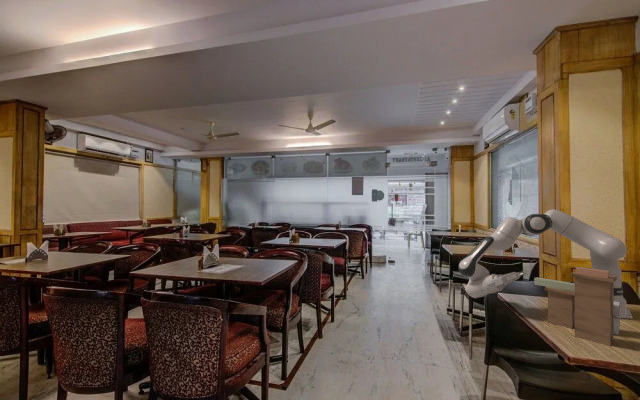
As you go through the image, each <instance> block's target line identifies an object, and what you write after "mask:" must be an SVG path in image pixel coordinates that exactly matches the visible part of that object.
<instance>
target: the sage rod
mask: <svg viewBox="0 0 640 400" xmlns="http://www.w3.org/2000/svg"><path fill="white" fill-rule="evenodd" d="M533 282H534V283H533V284H534V285H535V286H541V287H542V286H543V287H552V288H557V289H563V290H569V291H574V292H575V282H567V281H561V280H555V279H549V278H543V277H542V278H541V277H534V279H533Z"/></svg>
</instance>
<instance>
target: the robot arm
mask: <svg viewBox="0 0 640 400" xmlns="http://www.w3.org/2000/svg"><path fill="white" fill-rule="evenodd" d="M548 230H551V231H553V232H555V233H557V234H559V235H561V236H562V237H563V238H566V239H567V240H570V241H571V242H573V243H575V244H577V245H578V246H581V247H583V248H585V249H586V250H588V251H589V257H590V263H591V269H596V270H604V271H609V275H613V276H617V280H616V281H614V301H615V302H620V319H628V320H629V319H630V320H633V319H634V318H633V314H632V313H631V310H630V309H629V307H628V306H627V299H626V298H625V297H624V296H623V295H624V287H623V286H622V285H623V283H622V275H623V274H622V269H621V267H620V266H621V265H620V261H619V260H620V259H621V258H624V257H625V256H626V255H627V252H628V249H627V246H626V244H625V243H624V242H623V241H622V240H620V239H618V238H617V237H615V236H613V235H610V234H608V233H606V232H605V231H604V230H603V231H602V230H601V229H598V228H596V227H594V226H592V225H590V224H588V223H587V222H584V221H582V220H581V219H578V218H577V217H574V216H573V215H570V214H568V213H566V212H563V211H561V210H558V209H555V208H554V209H553V208H552V209H549V210H547V211H546V212H544V214H543V213H532V214H529V215H526V216H525V217H524V218H522V219H518V218H516V217H510V216H509V217H506V218H505V219H504V220H503V221H501V222H500V224H499V225H498V226H497V228H496V229H495V230H494V232H493V233H492V234H491V235H488V236H486V237H484V238H483V239H481V240H480V242H479V243H477V245H476V246H474V248H473V249H472V250H471V251H470V252H469V253H468V254H467V255H466V256H465V257H464V258H462V259H461V260H460V261H459V263H458V272H459V274H461V275H462V276H464V277H466V278H468V279H469V280H468V283H467V284H466V285H465V286H464V289H465V292H466V293H467V295H468V296H469V297H471V298H473V299H479V298H482V297H486V296H487V295H489V294H495V293H497V292H500V291H503V289H504V288H505V287H507V285H509V284H511V283H513V282H515V281H517V280H519V279H520V277H521V276H524V275H525V272H524V271H523V270H522V271H519V272H516V271H513V272H512V271H511V272H509V273H504V274H502V273H501V274H496V273H492V274H490V271H489V270H488V269H487V268H486V267H485V266H483V265H481V264H479V263H478V262H479V261H480V260H481V259H482V258H483V256H484V255H485V254H486V253H487V252H490V251H491V250H493V251H494V250H496V251H507V250H509V249H510V248H512V246H513V245H514V244H515V242H516V241H517V239H518V238H519V236H521V235H525V236H529V237H530V236H531V237H534V236H539V235H541V234H543V233H545V232H546V231H548Z"/></svg>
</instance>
